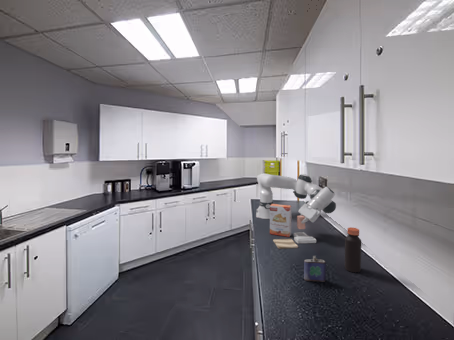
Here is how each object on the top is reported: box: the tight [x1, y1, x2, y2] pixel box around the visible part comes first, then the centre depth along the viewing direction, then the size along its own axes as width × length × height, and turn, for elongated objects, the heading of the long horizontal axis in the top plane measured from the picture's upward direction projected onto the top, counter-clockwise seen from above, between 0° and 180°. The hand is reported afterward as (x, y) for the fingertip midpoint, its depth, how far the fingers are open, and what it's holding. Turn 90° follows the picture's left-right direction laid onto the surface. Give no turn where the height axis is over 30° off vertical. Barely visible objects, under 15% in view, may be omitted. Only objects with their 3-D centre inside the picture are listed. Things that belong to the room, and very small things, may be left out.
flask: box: [303, 255, 327, 282], centre depth 98 cm, size 9×3×11 cm, turn 83°
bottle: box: [344, 227, 362, 274], centre depth 105 cm, size 7×7×20 cm
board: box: [272, 238, 299, 250], centre depth 137 cm, size 12×12×1 cm
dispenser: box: [293, 231, 317, 245], centre depth 144 cm, size 14×12×2 cm
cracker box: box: [269, 203, 292, 238], centre depth 153 cm, size 14×6×21 cm, turn 62°
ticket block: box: [296, 215, 306, 230], centre depth 147 cm, size 4×4×8 cm
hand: (300, 221), depth 147 cm, fingers closed on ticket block, 4 cm apart
